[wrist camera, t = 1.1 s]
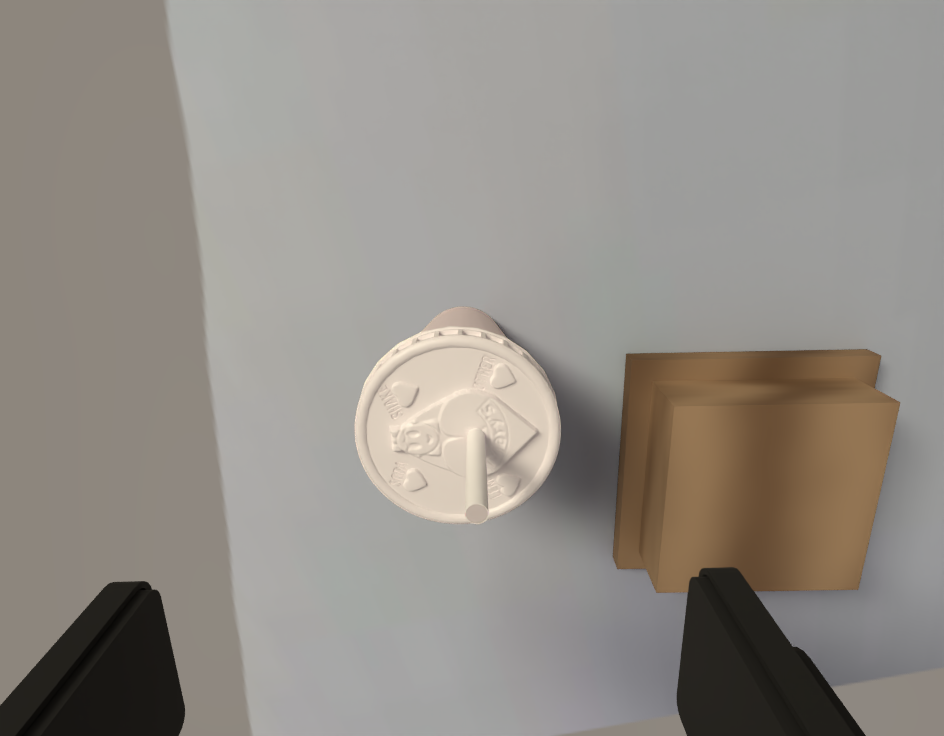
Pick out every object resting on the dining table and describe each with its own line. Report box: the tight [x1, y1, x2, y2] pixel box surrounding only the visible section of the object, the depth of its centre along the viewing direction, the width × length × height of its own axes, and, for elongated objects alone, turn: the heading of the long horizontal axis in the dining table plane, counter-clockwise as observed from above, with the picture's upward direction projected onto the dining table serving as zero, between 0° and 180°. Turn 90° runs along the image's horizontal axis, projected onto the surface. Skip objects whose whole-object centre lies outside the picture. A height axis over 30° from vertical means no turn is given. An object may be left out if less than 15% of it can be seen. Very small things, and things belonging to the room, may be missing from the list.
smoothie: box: [355, 307, 561, 524], centre depth 20 cm, size 6×6×14 cm
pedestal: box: [613, 349, 900, 593], centre depth 27 cm, size 11×11×4 cm
